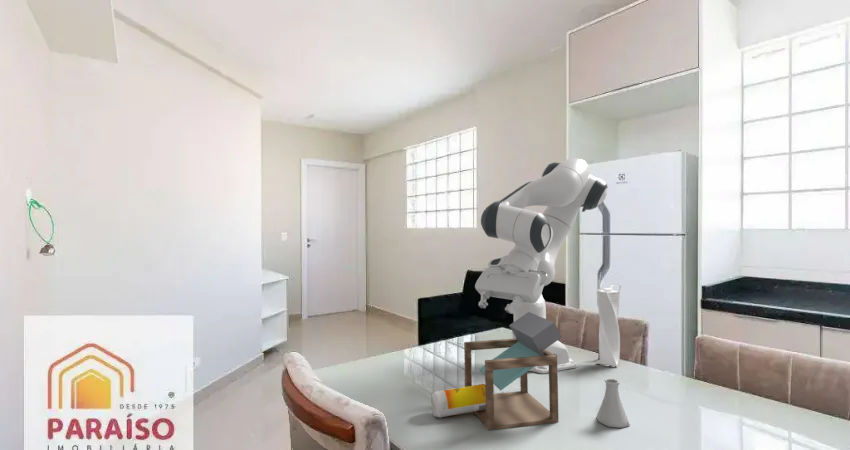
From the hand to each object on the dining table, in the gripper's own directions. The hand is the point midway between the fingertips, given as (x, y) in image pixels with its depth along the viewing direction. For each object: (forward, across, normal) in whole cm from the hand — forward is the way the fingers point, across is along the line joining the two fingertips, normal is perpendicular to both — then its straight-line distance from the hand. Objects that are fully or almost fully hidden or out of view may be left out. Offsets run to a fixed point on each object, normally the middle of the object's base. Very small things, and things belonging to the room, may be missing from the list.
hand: (494, 309), depth 106 cm
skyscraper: (-22, +1, -60) cm, 65 cm away
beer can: (+17, +1, -15) cm, 22 cm away
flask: (+6, -22, -32) cm, 39 cm away
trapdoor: (+5, -3, -14) cm, 15 cm away
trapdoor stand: (+16, -2, -21) cm, 27 cm away
